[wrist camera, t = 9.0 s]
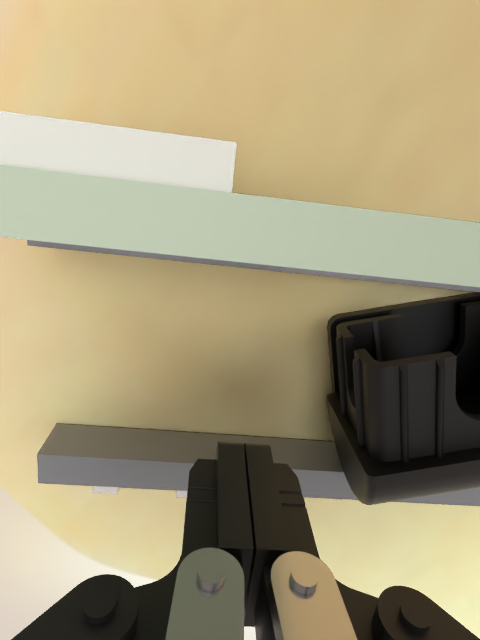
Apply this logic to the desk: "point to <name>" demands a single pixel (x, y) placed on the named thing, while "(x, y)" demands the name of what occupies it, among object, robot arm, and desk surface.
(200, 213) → the lid
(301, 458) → the grey frame
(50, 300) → the desk surface
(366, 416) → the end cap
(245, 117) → the desk surface
